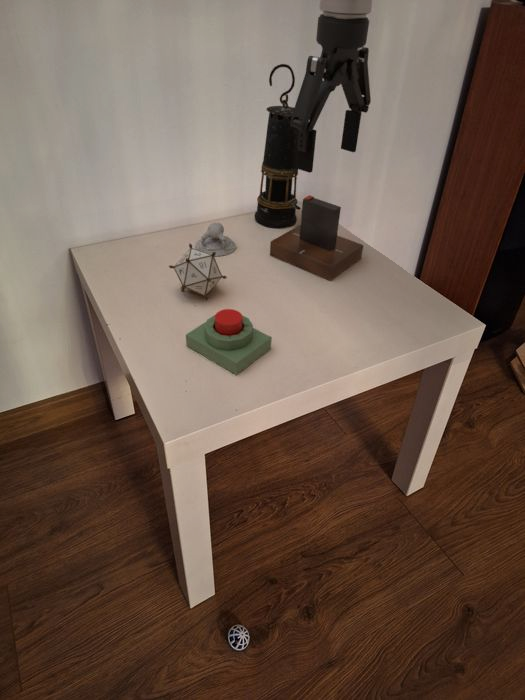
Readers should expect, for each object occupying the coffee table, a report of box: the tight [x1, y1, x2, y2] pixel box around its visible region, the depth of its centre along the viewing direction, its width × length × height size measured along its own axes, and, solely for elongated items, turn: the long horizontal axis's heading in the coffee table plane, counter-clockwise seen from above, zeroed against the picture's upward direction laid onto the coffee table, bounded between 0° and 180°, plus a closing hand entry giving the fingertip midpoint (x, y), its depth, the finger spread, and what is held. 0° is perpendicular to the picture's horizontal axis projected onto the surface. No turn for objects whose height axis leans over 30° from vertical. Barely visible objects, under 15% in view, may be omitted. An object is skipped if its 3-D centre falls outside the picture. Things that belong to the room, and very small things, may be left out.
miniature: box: [194, 222, 237, 257], centre depth 103 cm, size 8×8×5 cm
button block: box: [185, 314, 272, 376], centre depth 79 cm, size 10×8×4 cm
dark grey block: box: [299, 194, 342, 251], centre depth 98 cm, size 7×2×8 cm, turn 51°
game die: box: [168, 242, 228, 302], centre depth 89 cm, size 9×8×10 cm
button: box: [214, 308, 243, 336], centre depth 77 cm, size 4×4×2 cm
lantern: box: [254, 63, 302, 229], centre depth 106 cm, size 9×9×30 cm
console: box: [269, 224, 364, 282], centre depth 102 cm, size 14×11×3 cm
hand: (327, 159), depth 91 cm, fingers open, 13 cm apart
